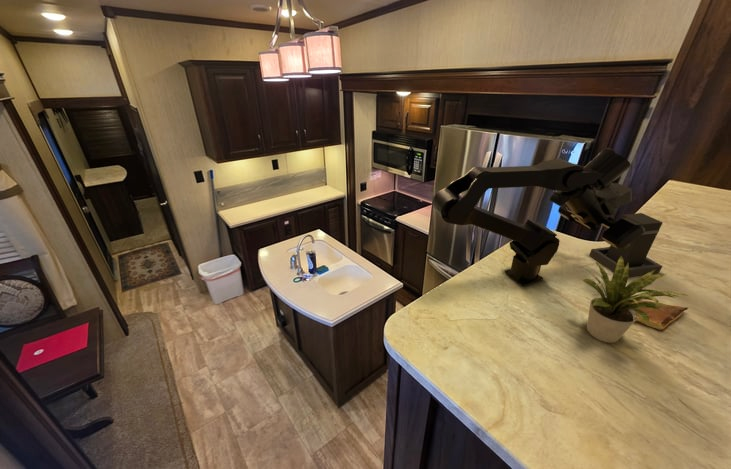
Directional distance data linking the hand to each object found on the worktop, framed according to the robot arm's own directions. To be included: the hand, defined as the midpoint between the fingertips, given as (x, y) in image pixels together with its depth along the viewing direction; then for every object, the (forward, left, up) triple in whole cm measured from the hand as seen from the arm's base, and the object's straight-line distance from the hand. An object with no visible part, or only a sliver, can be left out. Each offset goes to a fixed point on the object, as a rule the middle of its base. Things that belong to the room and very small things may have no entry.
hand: (610, 237), depth 72 cm
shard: (-6, -15, -9) cm, 19 cm away
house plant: (-21, -16, -9) cm, 29 cm away
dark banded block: (+6, -1, -8) cm, 11 cm away
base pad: (+7, -1, -9) cm, 11 cm away
